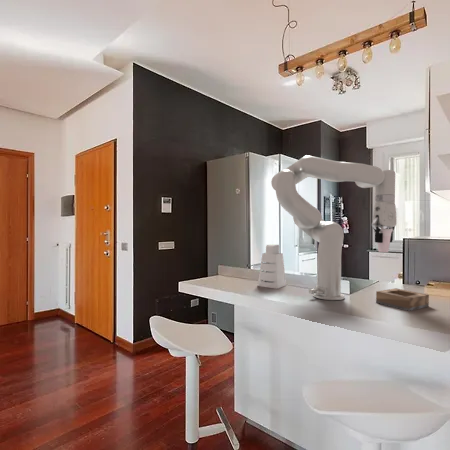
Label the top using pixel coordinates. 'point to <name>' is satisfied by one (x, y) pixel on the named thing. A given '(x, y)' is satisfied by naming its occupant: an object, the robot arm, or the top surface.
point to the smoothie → (385, 240)
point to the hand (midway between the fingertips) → (383, 241)
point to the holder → (402, 299)
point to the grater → (272, 268)
